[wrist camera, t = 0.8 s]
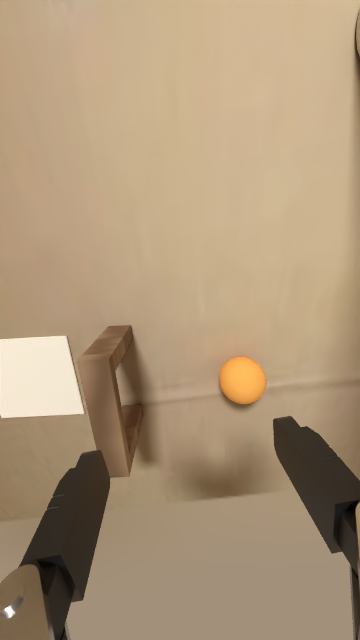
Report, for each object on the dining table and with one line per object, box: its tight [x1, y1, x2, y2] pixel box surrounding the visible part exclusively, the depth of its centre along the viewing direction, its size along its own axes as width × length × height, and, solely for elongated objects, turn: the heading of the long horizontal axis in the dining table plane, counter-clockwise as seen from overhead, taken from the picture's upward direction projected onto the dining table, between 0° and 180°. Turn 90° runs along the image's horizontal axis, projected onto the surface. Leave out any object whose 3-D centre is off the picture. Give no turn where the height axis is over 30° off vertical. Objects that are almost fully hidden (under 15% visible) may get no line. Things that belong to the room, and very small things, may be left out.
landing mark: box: [0, 336, 85, 418], centre depth 32 cm, size 13×13×1 cm
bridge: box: [77, 325, 143, 478], centre depth 27 cm, size 3×15×10 cm, turn 4°
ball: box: [219, 357, 266, 404], centre depth 29 cm, size 6×6×6 cm
